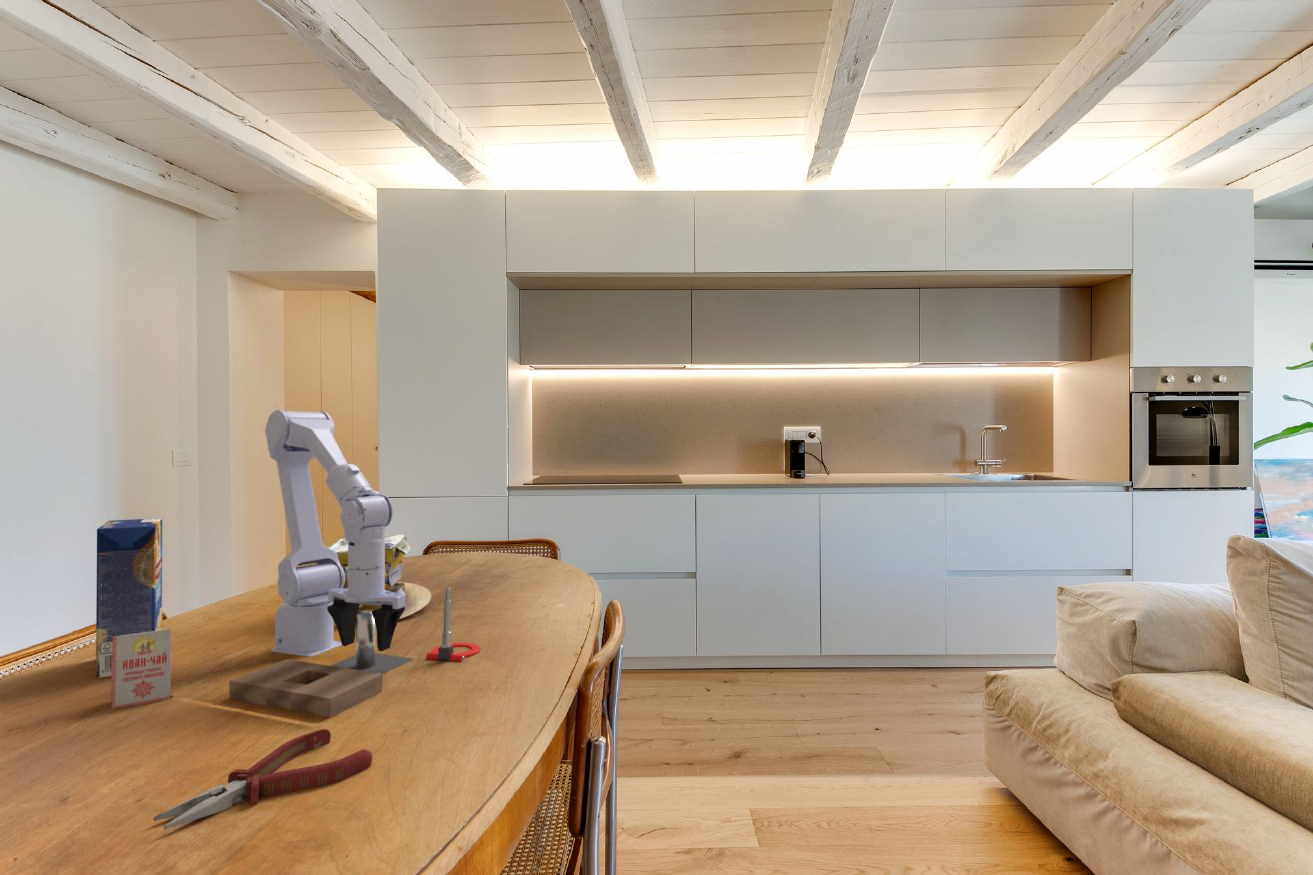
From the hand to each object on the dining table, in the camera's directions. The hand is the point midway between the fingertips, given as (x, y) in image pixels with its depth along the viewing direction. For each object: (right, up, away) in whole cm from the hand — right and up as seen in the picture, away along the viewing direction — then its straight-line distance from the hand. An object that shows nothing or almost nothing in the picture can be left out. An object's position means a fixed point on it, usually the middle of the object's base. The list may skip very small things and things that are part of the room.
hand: (365, 646), depth 111 cm
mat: (0, -4, 0) cm, 4 cm away
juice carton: (-41, -3, +1) cm, 41 cm away
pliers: (+5, -5, -36) cm, 36 cm away
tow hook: (+13, -4, +7) cm, 15 cm away
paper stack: (-14, -4, +35) cm, 38 cm away
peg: (0, -3, 0) cm, 3 cm away
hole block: (-3, -4, -13) cm, 14 cm away
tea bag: (-27, -4, -14) cm, 31 cm away
